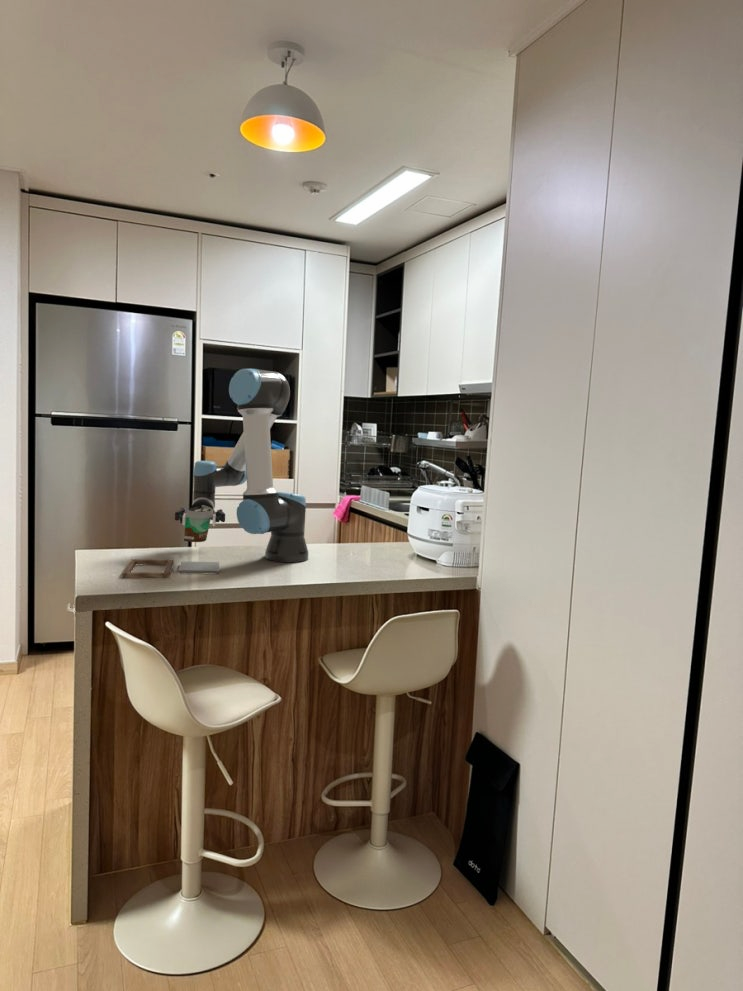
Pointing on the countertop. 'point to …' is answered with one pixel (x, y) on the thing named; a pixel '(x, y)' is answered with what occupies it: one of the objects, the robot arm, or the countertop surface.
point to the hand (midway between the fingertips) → (198, 521)
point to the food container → (197, 524)
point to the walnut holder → (133, 562)
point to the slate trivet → (199, 567)
